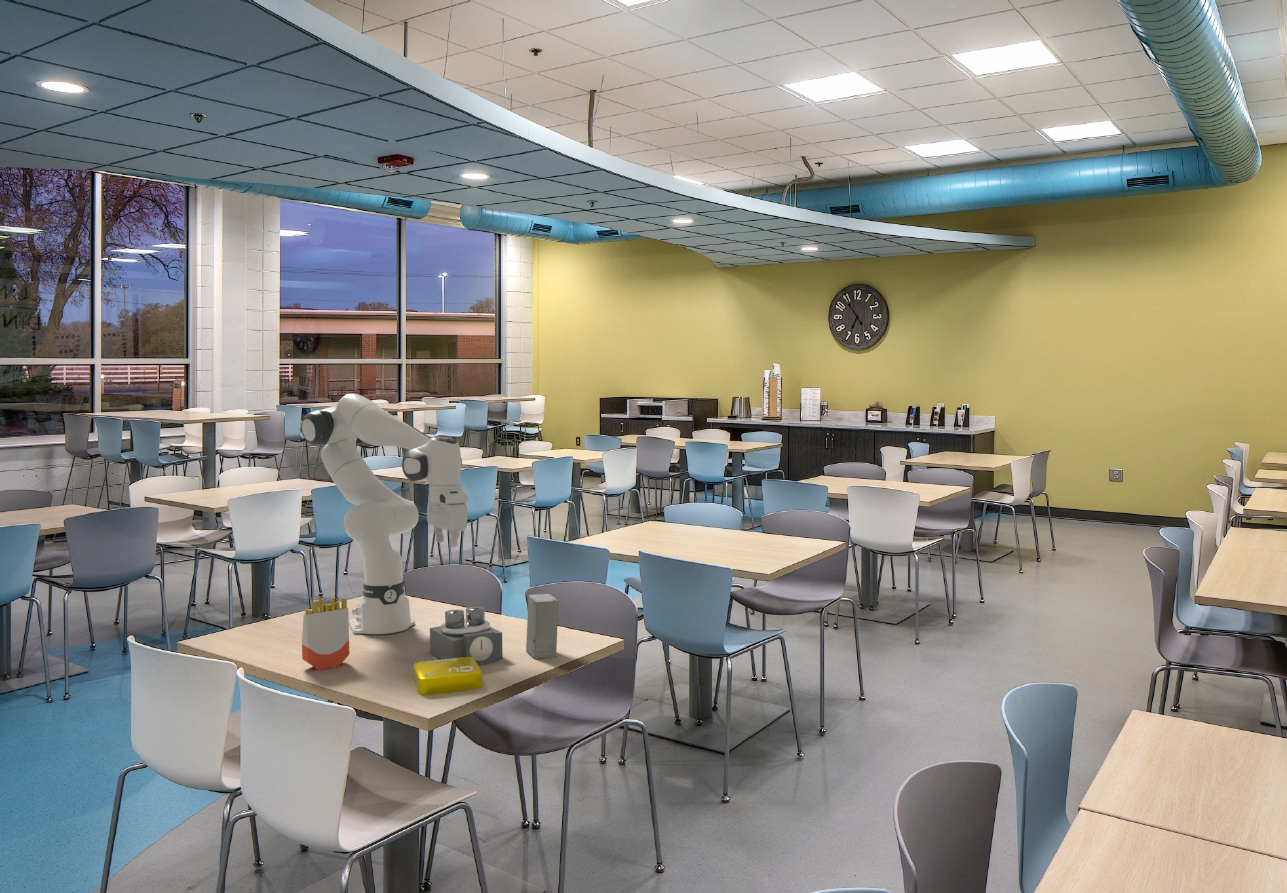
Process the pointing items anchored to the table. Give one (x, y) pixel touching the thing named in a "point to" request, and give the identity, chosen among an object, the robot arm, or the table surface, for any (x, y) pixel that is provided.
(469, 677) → the element tile
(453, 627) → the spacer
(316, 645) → the french fries container
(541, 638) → the skincare box
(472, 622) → the spacer
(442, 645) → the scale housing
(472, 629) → the scale pan
